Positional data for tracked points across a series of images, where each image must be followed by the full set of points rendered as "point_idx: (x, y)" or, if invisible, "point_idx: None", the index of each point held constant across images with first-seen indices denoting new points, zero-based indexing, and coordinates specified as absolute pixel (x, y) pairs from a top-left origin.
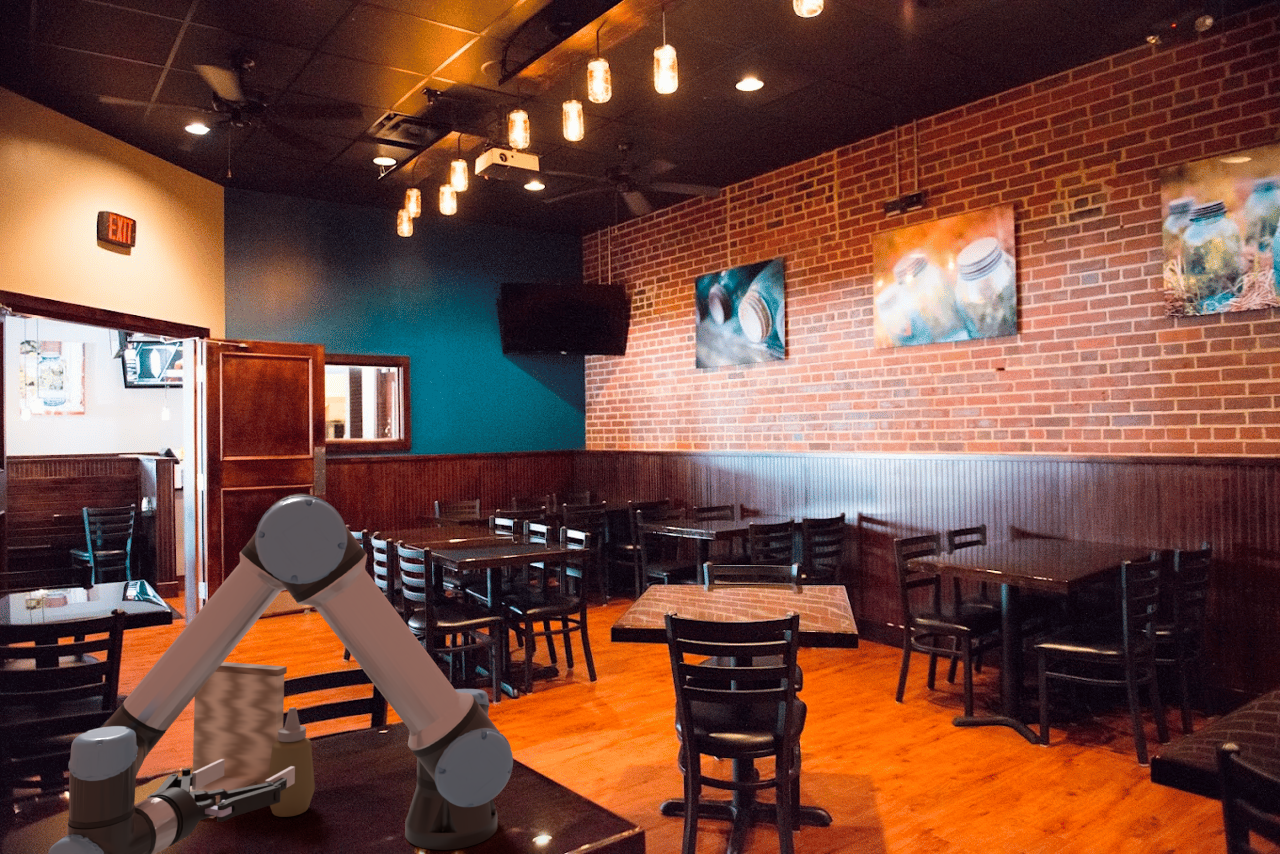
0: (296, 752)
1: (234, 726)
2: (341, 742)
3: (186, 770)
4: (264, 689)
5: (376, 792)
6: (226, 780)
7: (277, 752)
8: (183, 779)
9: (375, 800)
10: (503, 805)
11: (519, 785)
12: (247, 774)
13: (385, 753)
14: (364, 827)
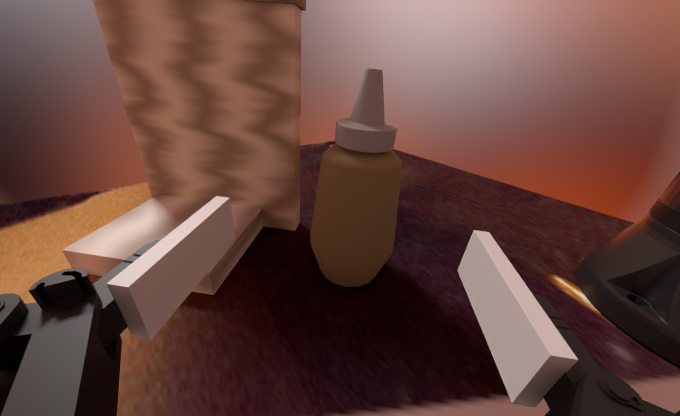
0: (393, 177)
1: (208, 120)
2: (307, 154)
3: (61, 283)
4: (264, 41)
5: (426, 222)
6: None
7: (352, 176)
8: (31, 372)
9: (446, 238)
10: None
11: (564, 210)
12: (245, 199)
13: None
14: None
